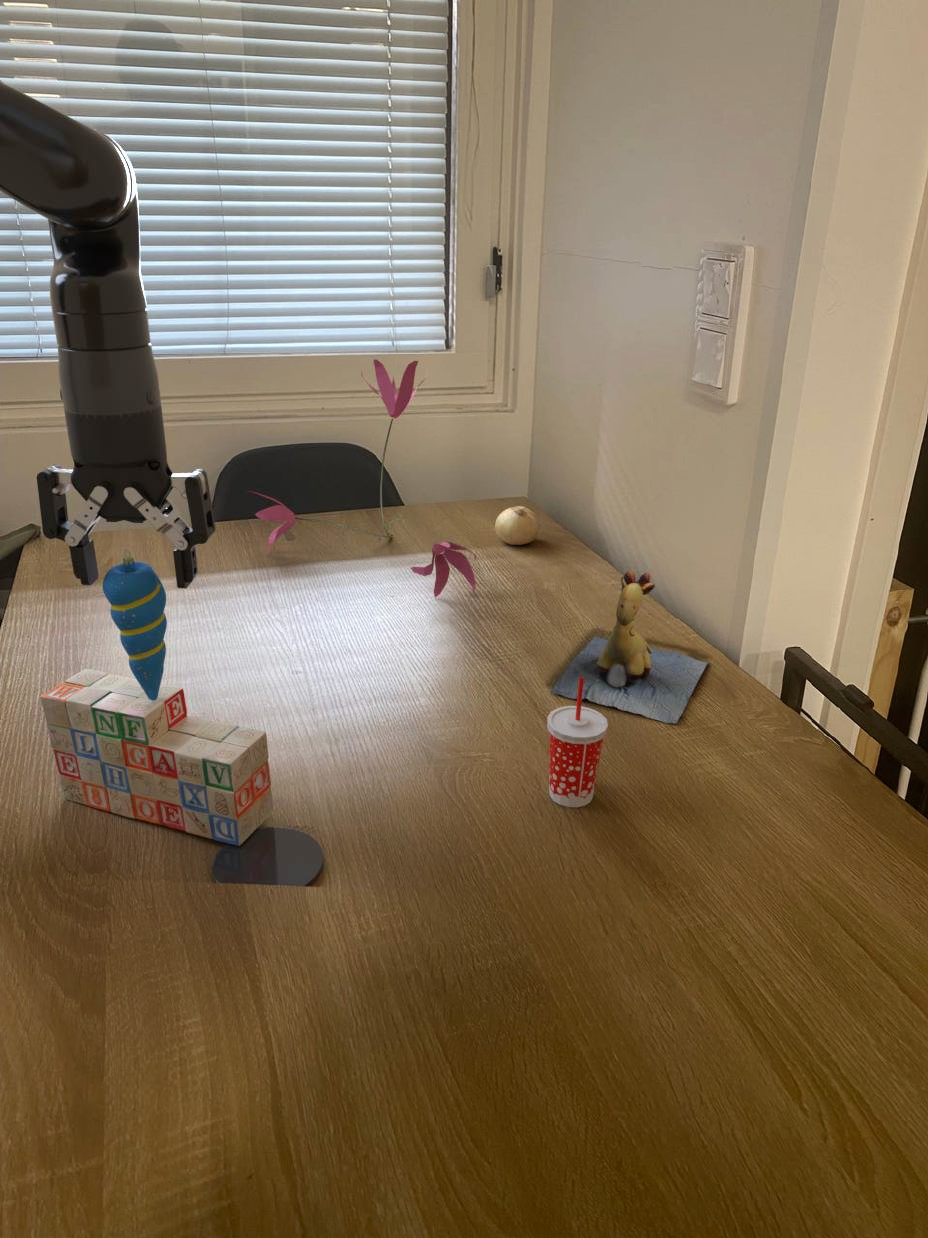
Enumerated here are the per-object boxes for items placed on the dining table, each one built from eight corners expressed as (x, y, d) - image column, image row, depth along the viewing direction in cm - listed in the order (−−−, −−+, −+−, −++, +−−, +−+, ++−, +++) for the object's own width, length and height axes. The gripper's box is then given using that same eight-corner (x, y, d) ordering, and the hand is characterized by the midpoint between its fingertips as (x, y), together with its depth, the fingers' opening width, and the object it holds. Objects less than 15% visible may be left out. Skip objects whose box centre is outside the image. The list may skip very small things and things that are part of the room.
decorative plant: (344, 706, 155) (275, 646, 127) (270, 516, 172) (195, 427, 145) (542, 609, 154) (515, 528, 126) (448, 428, 171) (406, 322, 144)
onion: (485, 540, 165) (486, 502, 162) (515, 531, 170) (517, 494, 166) (516, 552, 159) (518, 514, 156) (547, 542, 164) (550, 505, 161)
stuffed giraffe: (550, 692, 114) (565, 575, 108) (594, 640, 130) (610, 534, 123) (675, 728, 109) (699, 606, 102) (706, 669, 124) (729, 560, 117)
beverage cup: (590, 775, 99) (601, 661, 93) (607, 809, 93) (621, 690, 87) (535, 779, 98) (543, 664, 92) (550, 814, 92) (559, 694, 86)
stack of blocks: (276, 811, 91) (264, 703, 86) (240, 849, 85) (225, 736, 80) (104, 767, 98) (85, 665, 93) (61, 799, 92) (38, 693, 87)
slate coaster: (199, 902, 80) (198, 896, 80) (229, 829, 89) (228, 824, 89) (312, 906, 80) (312, 901, 79) (331, 833, 89) (331, 828, 88)
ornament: (147, 718, 83) (122, 564, 77) (111, 703, 86) (83, 553, 79) (191, 695, 87) (170, 547, 81) (155, 681, 90) (132, 537, 83)
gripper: (212, 394, 78) (227, 571, 85) (46, 389, 78) (76, 565, 85) (185, 414, 71) (204, 604, 78) (4, 408, 71) (39, 597, 78)
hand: (137, 583), depth 81 cm, fingers open, 8 cm apart
